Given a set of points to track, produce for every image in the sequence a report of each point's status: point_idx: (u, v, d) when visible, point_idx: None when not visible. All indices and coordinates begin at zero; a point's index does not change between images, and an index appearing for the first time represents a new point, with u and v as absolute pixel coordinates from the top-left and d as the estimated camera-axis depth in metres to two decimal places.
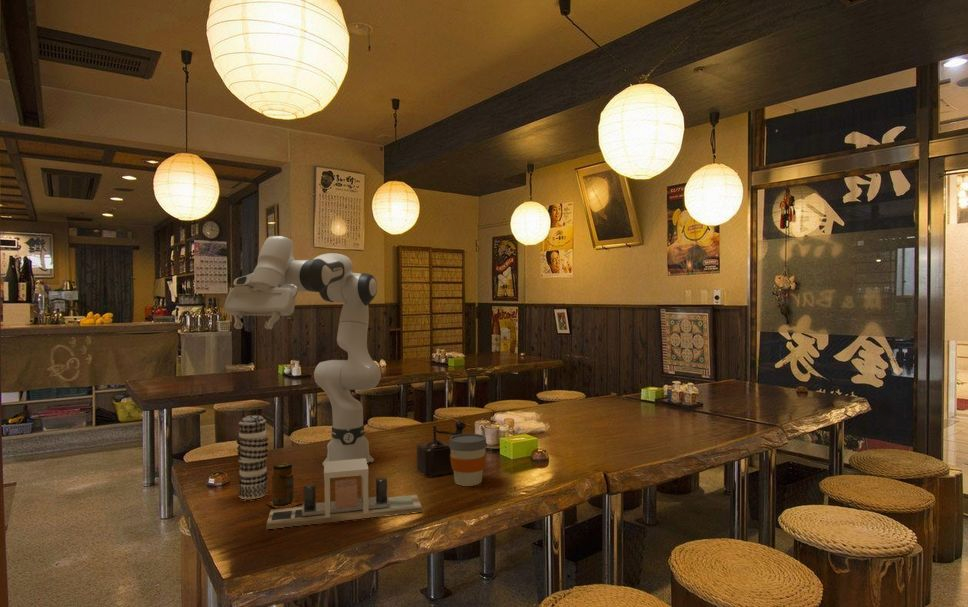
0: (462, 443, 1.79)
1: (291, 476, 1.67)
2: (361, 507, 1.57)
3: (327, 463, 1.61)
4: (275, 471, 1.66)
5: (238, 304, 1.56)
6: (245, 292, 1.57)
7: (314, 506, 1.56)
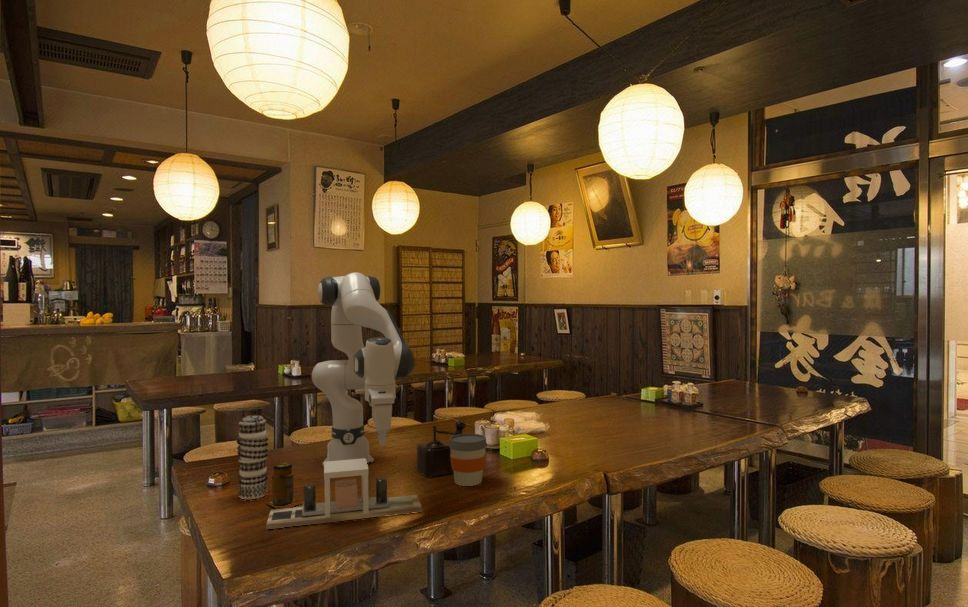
0: (462, 443, 1.79)
1: (291, 476, 1.67)
2: (361, 507, 1.57)
3: (327, 463, 1.61)
4: (275, 471, 1.66)
5: None
6: None
7: (314, 506, 1.56)
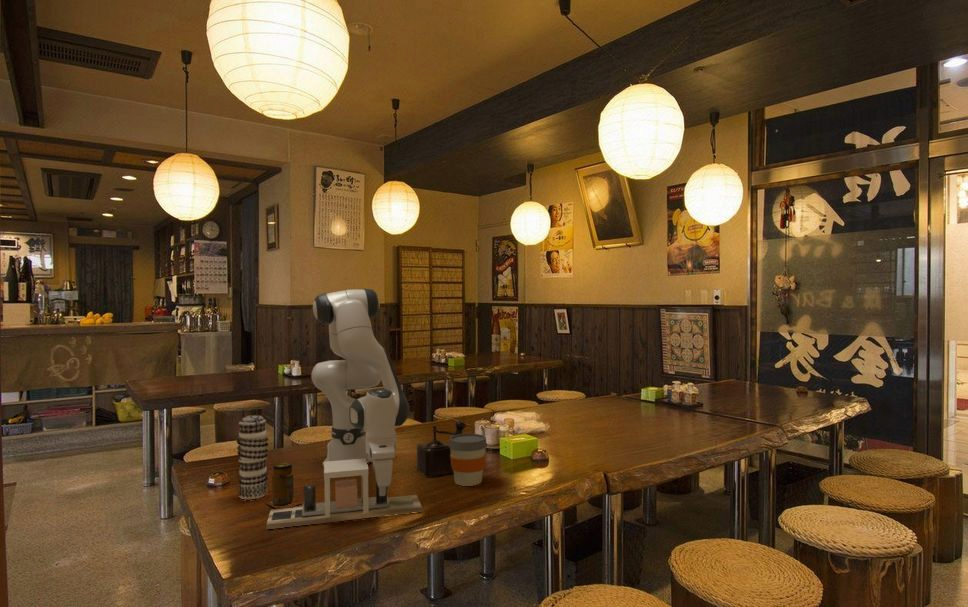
0: (462, 443, 1.79)
1: (291, 476, 1.67)
2: (361, 507, 1.57)
3: (327, 463, 1.61)
4: (275, 471, 1.66)
5: None
6: None
7: (314, 506, 1.56)
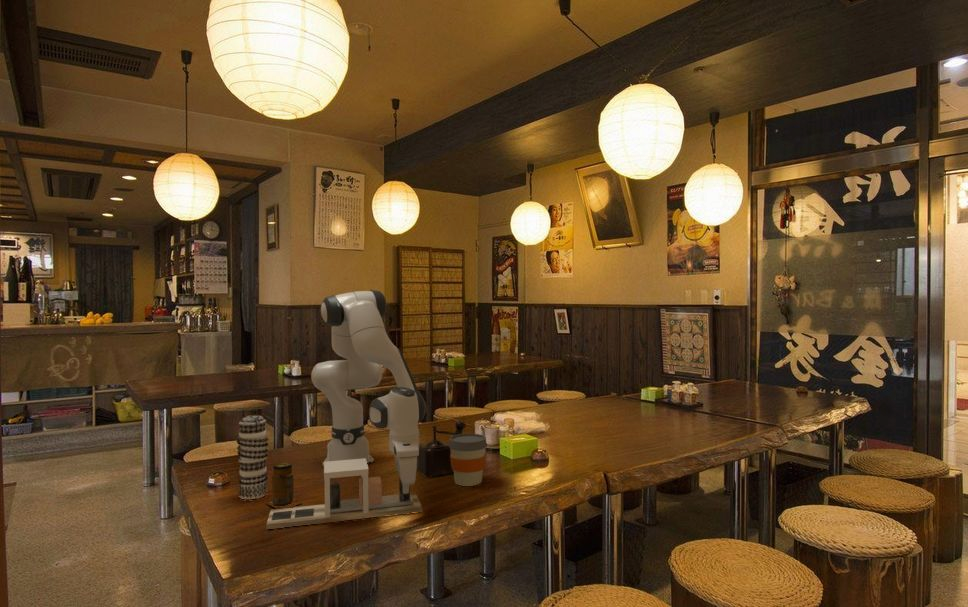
0: (462, 443, 1.79)
1: (291, 476, 1.67)
2: (385, 504, 1.59)
3: (327, 463, 1.61)
4: (275, 471, 1.66)
5: None
6: None
7: (339, 503, 1.58)
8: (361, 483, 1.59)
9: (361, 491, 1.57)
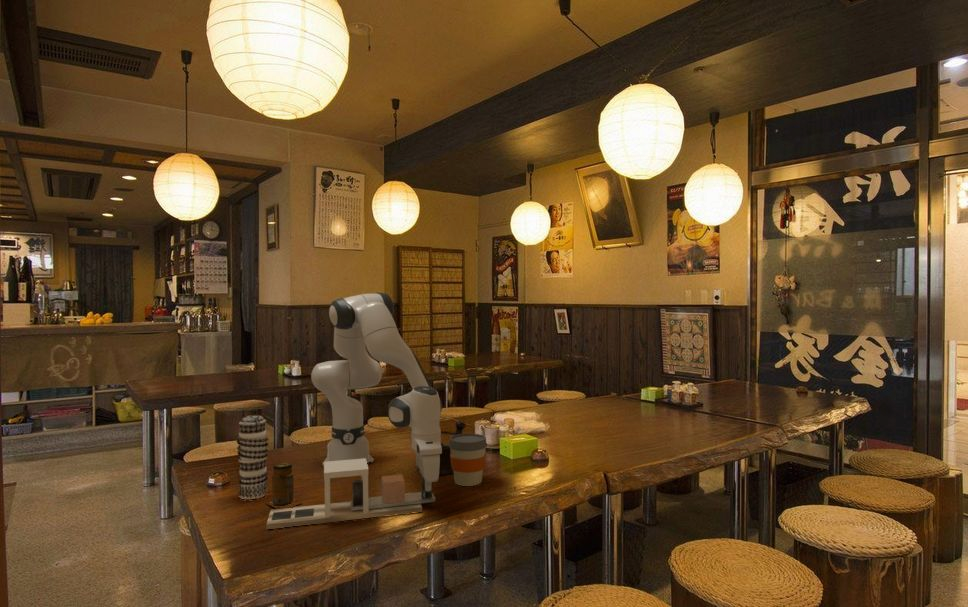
0: (462, 443, 1.79)
1: (291, 476, 1.67)
2: (408, 502, 1.61)
3: (327, 463, 1.61)
4: (275, 471, 1.66)
5: None
6: None
7: (362, 501, 1.60)
8: (384, 481, 1.60)
9: (384, 489, 1.59)
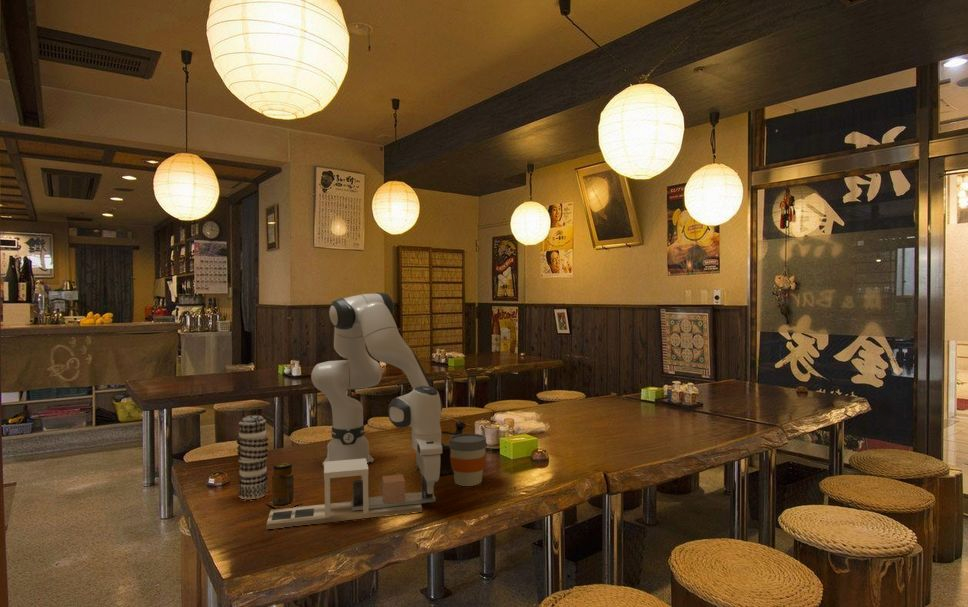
0: (462, 443, 1.79)
1: (291, 476, 1.67)
2: (408, 502, 1.61)
3: (327, 463, 1.61)
4: (275, 471, 1.66)
5: None
6: None
7: None
8: (385, 481, 1.60)
9: (385, 489, 1.59)
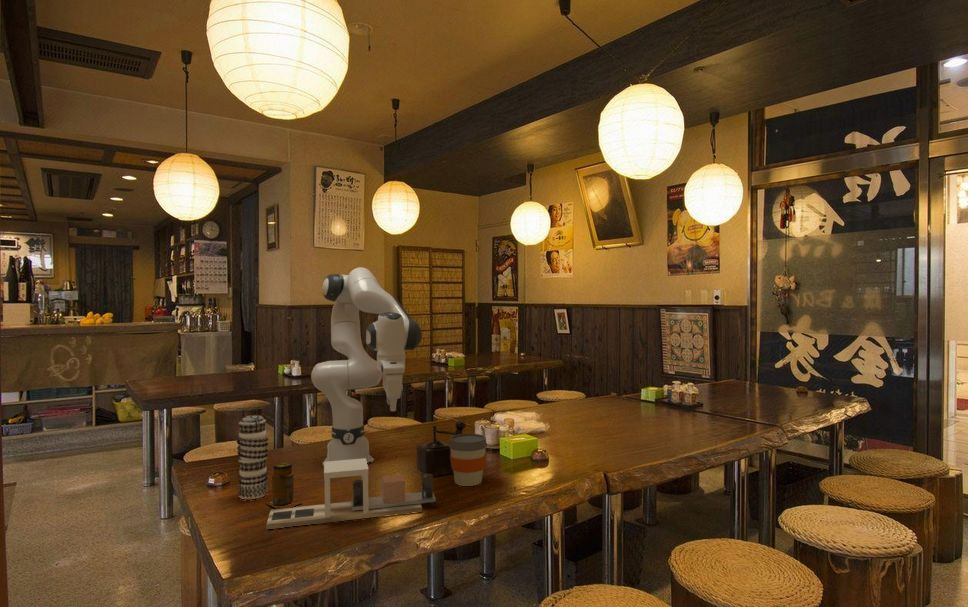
0: (462, 443, 1.79)
1: (291, 476, 1.67)
2: (408, 502, 1.61)
3: (327, 463, 1.61)
4: (275, 471, 1.66)
5: None
6: None
7: None
8: (385, 481, 1.60)
9: (385, 489, 1.59)
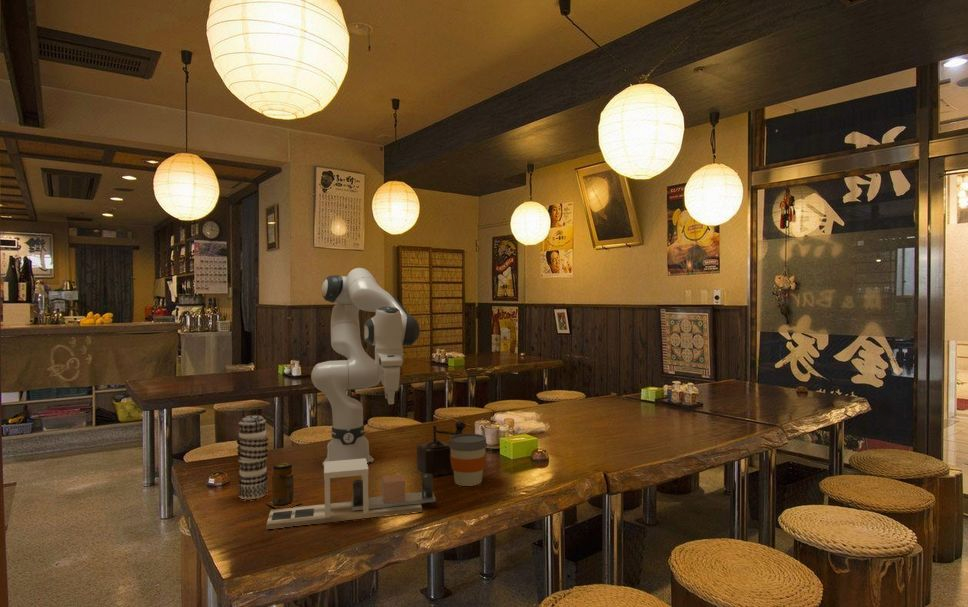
0: (462, 443, 1.79)
1: (291, 476, 1.67)
2: (408, 502, 1.61)
3: (327, 463, 1.61)
4: (275, 471, 1.66)
5: None
6: None
7: None
8: (385, 481, 1.60)
9: (385, 489, 1.59)
